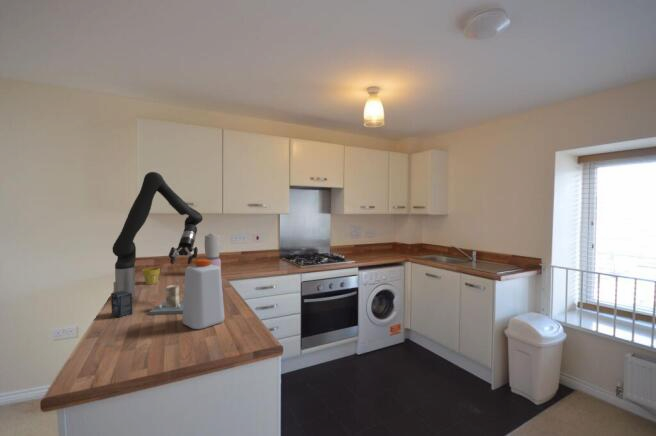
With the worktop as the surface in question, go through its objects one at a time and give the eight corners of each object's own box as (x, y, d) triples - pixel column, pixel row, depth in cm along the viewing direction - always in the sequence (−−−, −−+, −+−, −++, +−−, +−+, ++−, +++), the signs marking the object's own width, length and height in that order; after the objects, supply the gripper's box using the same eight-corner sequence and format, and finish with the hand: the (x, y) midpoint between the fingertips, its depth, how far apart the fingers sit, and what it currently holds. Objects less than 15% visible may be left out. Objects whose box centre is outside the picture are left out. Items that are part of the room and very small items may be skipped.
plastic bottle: (210, 314, 145) (210, 256, 144) (228, 321, 135) (227, 259, 134) (178, 323, 133) (177, 260, 132) (195, 332, 123) (194, 264, 123)
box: (111, 315, 143) (110, 293, 143) (124, 311, 148) (123, 290, 148) (119, 318, 140) (119, 295, 139) (132, 314, 144) (132, 292, 144)
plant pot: (139, 284, 204) (138, 269, 203) (154, 280, 213) (153, 267, 213) (148, 285, 199) (148, 271, 199) (163, 282, 208) (163, 268, 208)
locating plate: (148, 314, 144) (148, 307, 143) (163, 304, 159) (163, 297, 159) (183, 313, 145) (183, 306, 145) (194, 303, 161) (194, 296, 161)
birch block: (166, 307, 150) (166, 287, 150) (170, 304, 154) (169, 285, 154) (175, 307, 151) (175, 287, 150) (179, 304, 155) (178, 285, 155)
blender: (216, 276, 226) (215, 234, 225) (201, 276, 227) (200, 234, 227) (225, 272, 242) (225, 232, 241) (211, 271, 243) (210, 232, 242)
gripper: (172, 236, 170) (164, 259, 159) (198, 236, 172) (192, 259, 161) (176, 244, 176) (168, 267, 165) (201, 244, 177) (195, 267, 166)
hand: (180, 263), depth 163 cm, fingers open, 8 cm apart
